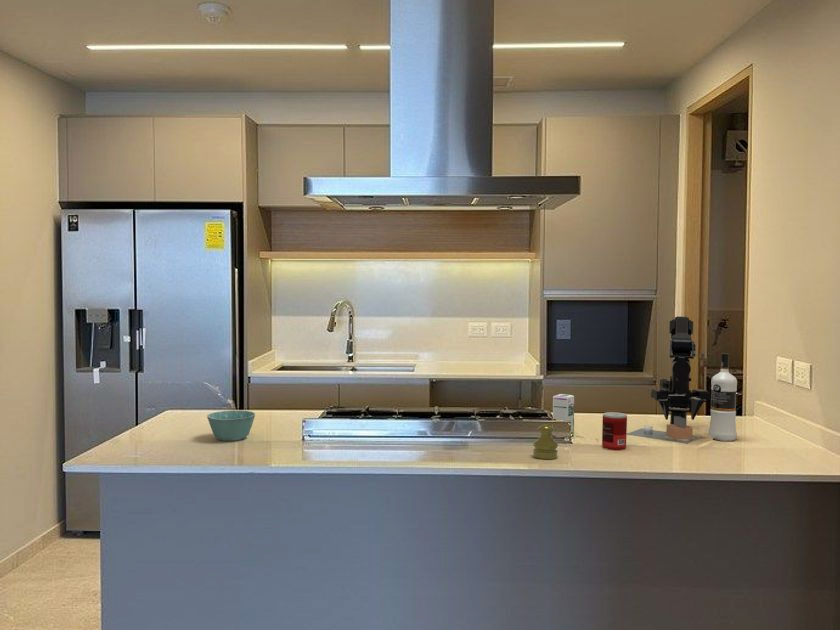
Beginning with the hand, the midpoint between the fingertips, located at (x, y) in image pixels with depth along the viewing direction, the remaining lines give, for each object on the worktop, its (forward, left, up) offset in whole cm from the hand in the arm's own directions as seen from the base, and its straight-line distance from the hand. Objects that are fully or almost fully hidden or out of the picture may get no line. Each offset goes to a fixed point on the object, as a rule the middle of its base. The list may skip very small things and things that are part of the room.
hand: (679, 419), depth 254 cm
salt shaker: (+52, -22, -8) cm, 57 cm away
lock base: (0, -6, -7) cm, 9 cm away
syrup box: (+21, -33, -8) cm, 40 cm away
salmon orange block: (0, 0, -6) cm, 6 cm away
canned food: (+25, -12, -8) cm, 29 cm away
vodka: (-14, +10, -8) cm, 19 cm away
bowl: (+102, -113, -8) cm, 152 cm away
